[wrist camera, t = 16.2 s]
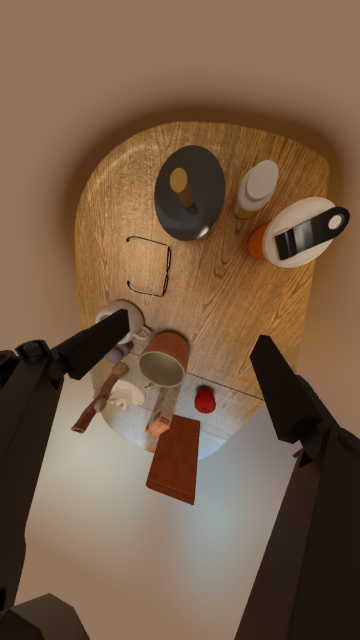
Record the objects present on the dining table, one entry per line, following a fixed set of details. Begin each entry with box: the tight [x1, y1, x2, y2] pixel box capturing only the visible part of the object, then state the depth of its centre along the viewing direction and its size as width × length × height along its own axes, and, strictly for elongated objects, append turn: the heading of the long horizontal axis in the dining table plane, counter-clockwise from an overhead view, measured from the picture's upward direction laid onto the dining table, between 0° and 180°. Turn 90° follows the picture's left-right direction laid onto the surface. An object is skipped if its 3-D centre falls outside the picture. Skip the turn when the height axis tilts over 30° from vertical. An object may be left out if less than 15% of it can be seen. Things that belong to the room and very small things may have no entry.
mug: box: [96, 300, 151, 344], centre depth 51 cm, size 21×17×10 cm
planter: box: [137, 332, 189, 388], centre depth 50 cm, size 17×17×15 cm
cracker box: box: [145, 384, 181, 437], centre depth 61 cm, size 14×6×21 cm, turn 150°
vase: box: [71, 362, 128, 433], centre depth 60 cm, size 11×7×30 cm
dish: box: [110, 378, 146, 412], centre depth 79 cm, size 25×25×11 cm
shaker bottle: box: [247, 197, 350, 268], centre depth 26 cm, size 9×9×20 cm
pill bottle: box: [233, 160, 279, 219], centre depth 26 cm, size 6×6×12 cm
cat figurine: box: [104, 341, 133, 366], centre depth 58 cm, size 8×8×12 cm
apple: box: [194, 387, 216, 414], centre depth 61 cm, size 10×10×11 cm
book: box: [146, 415, 200, 505], centre depth 72 cm, size 23×8×30 cm, turn 91°
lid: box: [154, 145, 225, 241], centre depth 23 cm, size 14×14×9 cm
